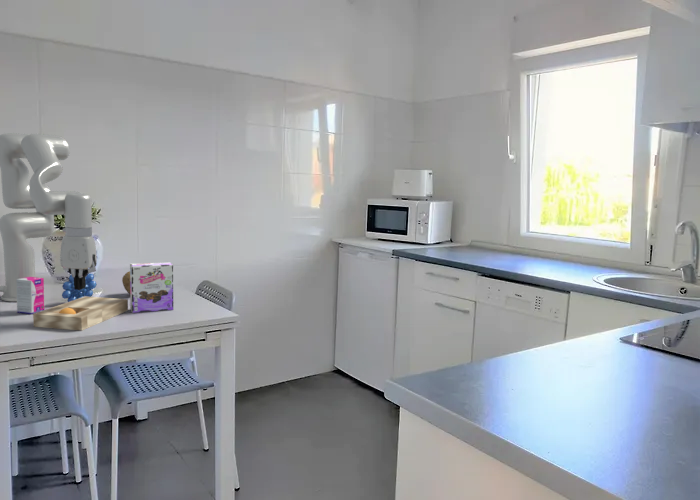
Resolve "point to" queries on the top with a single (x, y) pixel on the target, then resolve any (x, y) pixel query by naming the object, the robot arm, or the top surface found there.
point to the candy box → (151, 287)
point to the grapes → (77, 294)
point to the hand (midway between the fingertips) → (79, 288)
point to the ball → (67, 311)
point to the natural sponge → (126, 281)
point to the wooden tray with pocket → (80, 313)
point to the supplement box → (30, 295)
